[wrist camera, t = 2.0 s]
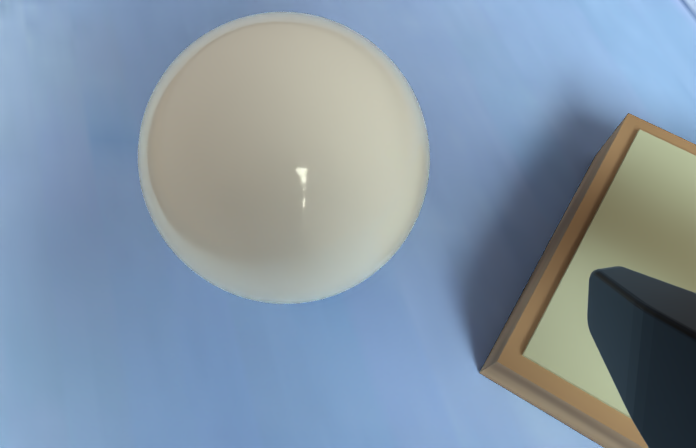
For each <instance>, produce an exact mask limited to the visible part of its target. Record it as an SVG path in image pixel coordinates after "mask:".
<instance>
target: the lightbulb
mask: <svg viewBox="0 0 696 448" xmlns="http://www.w3.org/2000/svg"><path fill="white" fill-rule="evenodd" d="M429 170H430V148H429V139H428V132H427V128H426V123H425V120H424V116H423V113H422V110H421V108H420V105H419V102H418V100H417V98H416V96H415V94H414V92H413V90H412V88H411V86H410V85H409V83H408V81H407V80H406V78H405V77H404V75H403V74H402V72H401V71H400V70H399V68H398V67H397V66H396V65H395V64H394V62H393V61H392V60H391V59H390V58H389V57H388V56H387V55H386V54H385V53H384V52H383V51H382V50H381V49H380V48H378V47H377V46H376V45H375V44H374V43H372V42H371V41H370V40H368V39H367V38H365V37H364V36H362V35H361V34H359V33H358V32H356V31H354V30H352V29H350V28H349V27H347V26H344V25H342V24H340V23H338V22H335V21H332V20H330V19H327V18H323V17H320V16H316V15H311V14H306V13H299V12H266V13H259V14H253V15H249V16H245V17H241V18H238V19H235V20H232V21H229V22H227V23H224V24H222V25H220V26H218V27H216V28H214V29H212V30H210V31H209V32H207V33H205V34H204V35H202V36H201V37H199V38H198V39H196V40H195V41H194V42H193V43H191V44H190V45H189V46H188V47H187V48H185V49H184V50H183V51H182V52H181V53H180V54H179V55H178V56H177V57H176V58H175V59H174V61H173V62H172V63H171V64H170V65H169V67H168V68H167V69H166V71H165V72H164V73H163V75H162V76H161V78H160V79H159V81H158V83H157V84H156V86H155V88H154V90H153V92H152V94H151V96H150V98H149V101H148V103H147V106H146V109H145V112H144V115H143V118H142V123H141V127H140V132H139V139H138V173H139V180H140V186H141V190H142V194H143V198H144V201H145V204H146V207H147V209H148V212H149V214H150V217H151V219H152V221H153V223H154V225H155V227H156V228H157V230H158V232H159V233H160V235H161V237H162V238H163V240H164V241H165V242H166V244H167V245H168V246H169V248H170V249H171V250H172V251H173V252H174V254H175V255H176V256H177V257H178V258H179V259H180V260H181V261H182V262H183V263H184V264H185V265H186V266H187V267H188V268H190V269H191V270H192V271H193V272H194V273H196V274H197V275H198V276H200V277H201V278H203V279H204V280H206V281H207V282H209V283H210V284H212V285H214V286H216V287H218V288H220V289H222V290H224V291H226V292H228V293H231V294H233V295H236V296H239V297H242V298H245V299H249V300H253V301H258V302H264V303H272V304H299V303H307V302H313V301H318V300H322V299H325V298H329V297H332V296H335V295H337V294H340V293H342V292H345V291H347V290H349V289H351V288H353V287H355V286H357V285H358V284H360V283H362V282H363V281H365V280H366V279H368V278H369V277H370V276H372V275H373V274H375V273H376V272H377V271H378V270H379V269H381V268H382V267H383V266H384V265H385V264H386V263H387V262H388V261H389V260H390V259H391V258H392V257H393V256H394V255H395V253H396V252H397V251H398V250H399V248H400V247H401V246H402V244H403V243H404V242H405V240H406V239H407V237H408V235H409V234H410V232H411V230H412V228H413V227H414V225H415V223H416V220H417V218H418V216H419V213H420V211H421V208H422V205H423V202H424V199H425V195H426V190H427V185H428V179H429Z"/></svg>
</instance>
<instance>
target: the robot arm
mask: <svg viewBox="0 0 696 448" xmlns="http://www.w3.org/2000/svg"><path fill="white" fill-rule="evenodd" d="M587 322H588V327H589V331H590V333H591V336H592V338H593V340H594V342H595V344H596V346H597V348H598V350H599V352H600V355H601V357H602V359H603V361H604V363H605V365H606V367H607V369H608V371H609V373H610V376H611V378H612V380H613V382H614V384H615V386H616V388H617V390H618V392H619V394H620V397H621V399H622V401H623V403H624V405H625V407H626V409H627V411H628V413H629V415H630V417H631V419H632V421H633V422H634V424H635V426H636V427H637V429H638V431H639V433H640V434H641V436H642V438H643V439H644V441H645V442H646V444H647V446H648V447H649V448H696V293H695V292H692V291H689V290H686V289H683V288H681V287H678V286H675V285H672V284H670V283H667V282H664V281H661V280H658V279H656V278H653V277H650V276H647V275H645V274H642V273H639V272H636V271H633V270H631V269H628V268H625V267H622V266H614V267H608V268H601V269H596V270H594V271H593V272H592V273H591V274H590V277H589V288H588V308H587Z"/></svg>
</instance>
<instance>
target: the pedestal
mask: <svg viewBox="0 0 696 448" xmlns="http://www.w3.org/2000/svg"><path fill="white" fill-rule="evenodd" d="M614 266H622V267H625V268H628V269H631V270H633V271H636V272H639V273H642V274H645V275H647V276H650V277H653V278H656V279H658V280H661V281H664V282H667V283H670V284H672V285H675V286H678V287H681V288H683V289H686V290H689V291H692V292H695V293H696V145H695V144H693V143H691V142H689V141H687V140H685V139H683V138H680V137H678V136H676V135H674V134H672V133H670V132H668V131H666V130H663V129H661V128H659V127H657V126H655V125H653V124H651V123H648V122H646V121H644V120H642V119H640V118H638V117H636V116H633V115H631V114H629V113H628V114H627V115H626V117H625V118H624V119H623V121H622V122H621V123H620V125H619V126H618V127H617V128H616V130H615V131H614V132H613V134H612V135H611V136H610V137H609V139H608V140H607V141H606V143H605V144H604V145H603V146H602V148H601V149H600V150H599V152H598V153H597V154H596V156H595V157H594V159H593V161H592V163H591V165H590V167H589V169H588V171H587V172H586V174H585V176H584V178H583V180H582V182H581V184H580V185H579V187H578V189H577V191H576V193H575V195H574V197H573V199H572V200H571V202H570V204H569V206H568V208H567V210H566V212H565V214H564V215H563V217H562V219H561V221H560V223H559V225H558V227H557V228H556V230H555V232H554V234H553V236H552V238H551V240H550V242H549V243H548V245H547V247H546V249H545V251H544V253H543V255H542V257H541V258H540V260H539V262H538V264H537V266H536V268H535V270H534V272H533V273H532V275H531V277H530V279H529V281H528V283H527V285H526V286H525V288H524V290H523V292H522V294H521V296H520V298H519V300H518V301H517V303H516V305H515V307H514V309H513V311H512V313H511V315H510V316H509V318H508V320H507V322H506V324H505V326H504V328H503V330H502V331H501V333H500V335H499V337H498V339H497V341H496V343H495V344H494V346H493V348H492V350H491V352H490V354H489V356H488V358H487V359H486V361H485V363H484V365H483V367H482V369H481V371H480V374H482V375H483V376H485V377H487V378H488V379H490V380H492V381H493V382H495V383H497V384H498V385H500V386H502V387H503V388H505V389H507V390H509V391H510V392H512V393H514V394H515V395H517V396H519V397H520V398H522V399H524V400H525V401H527V402H529V403H530V404H532V405H534V406H535V407H537V408H539V409H540V410H542V411H544V412H545V413H547V414H549V415H550V416H552V417H554V418H555V419H557V420H559V421H560V422H562V423H564V424H565V425H567V426H569V427H570V428H572V429H574V430H575V431H577V432H579V433H580V434H582V435H584V436H586V437H587V438H589V439H591V440H592V441H594V442H596V443H597V444H599V445H601V446H602V447H604V448H649V447H648V446H647V444H646V442H645V441H644V439H643V438H642V436H641V434H640V433H639V431H638V429H637V427H636V426H635V424H634V422H633V421H632V419H631V417H630V415H629V413H628V411H627V409H626V407H625V405H624V403H623V401H622V399H621V397H620V394H619V392H618V390H617V388H616V386H615V384H614V382H613V380H612V378H611V376H610V373H609V371H608V369H607V367H606V365H605V363H604V361H603V359H602V357H601V355H600V352H599V350H598V348H597V346H596V344H595V342H594V340H593V338H592V336H591V333H590V331H589V327H588V322H587V308H588V288H589V277H590V274H591V273H592V272H593V271H594V270H596V269H601V268H608V267H614Z"/></svg>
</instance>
